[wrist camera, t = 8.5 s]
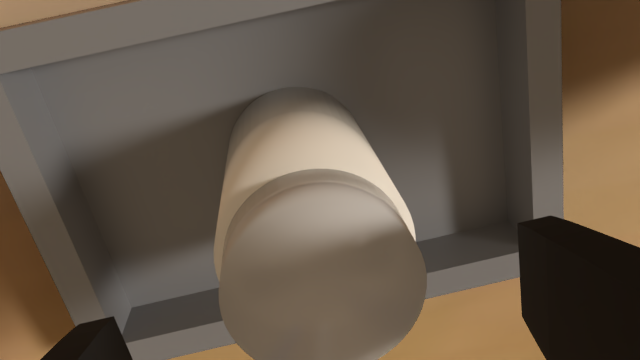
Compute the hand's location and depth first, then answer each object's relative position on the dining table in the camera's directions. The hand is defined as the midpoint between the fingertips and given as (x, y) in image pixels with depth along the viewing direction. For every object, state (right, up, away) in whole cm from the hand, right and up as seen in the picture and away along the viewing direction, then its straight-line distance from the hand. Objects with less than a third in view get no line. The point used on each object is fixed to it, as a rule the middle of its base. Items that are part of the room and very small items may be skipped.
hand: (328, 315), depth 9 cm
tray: (-1, +4, +9) cm, 9 cm away
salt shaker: (-1, +3, +8) cm, 9 cm away
